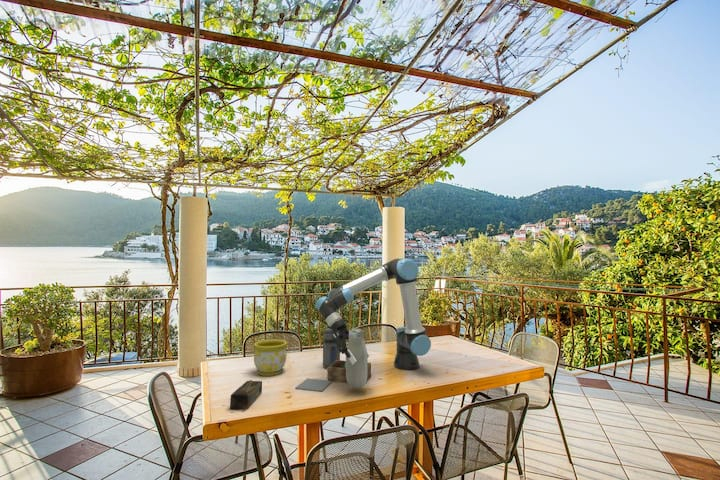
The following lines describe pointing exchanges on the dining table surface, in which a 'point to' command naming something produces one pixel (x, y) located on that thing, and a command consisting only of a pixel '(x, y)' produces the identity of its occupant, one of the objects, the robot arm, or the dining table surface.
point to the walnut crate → (341, 371)
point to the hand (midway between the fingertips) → (361, 359)
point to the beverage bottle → (329, 348)
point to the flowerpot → (270, 356)
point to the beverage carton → (246, 395)
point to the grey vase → (358, 370)
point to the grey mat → (314, 385)
